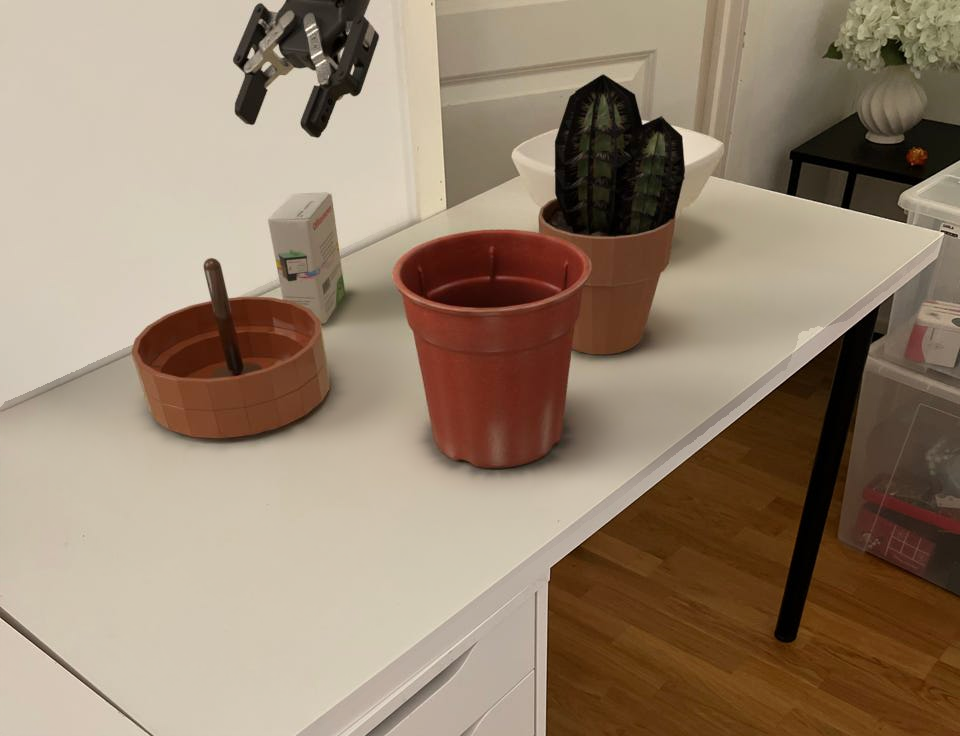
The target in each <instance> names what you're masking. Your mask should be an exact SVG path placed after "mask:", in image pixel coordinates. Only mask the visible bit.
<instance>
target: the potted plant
mask: <svg viewBox="0 0 960 736" xmlns="http://www.w3.org/2000/svg"><path fill="white" fill-rule="evenodd" d="M574 91H575V92H574V93H572V94H571V95H570V96H569V97H568V100H567V103H566V107H565V109H564V112H563V115H562V119H561V121H560V125H559V128H558V129H559V131H558V134H557V137H556V140H555V145H554V146H555V170H554V171H555V195H556V197H557V198H555V199H553V200H551V201H549V202H548V203H546V204H545V205H544V206H543V207H542V208H541V207H540V208H539V212H538V215H537V216H538V233H542V234H547V235H551V236H554V237H558V238H560V239H563V240H566V241H568V242H570V243H572V244H574V245H576V246H577V247H579V248H580V249H581V250H582V251H584V253H585V254H586V255H587V256H588V258H589V259H590V261H591V272H590V275H589V278H588V280H587V282H586V283H585V284H584V285H583V290H582V298H581V307H580V314H579V317H578V319H577V321H576V323H575V327H574V334H573V343H572V350H574V351H577V352H579V353H583V354H588V355H589V354H590V355H603V356H604V355H605V356H607V355H614V354H615V355H616V354H619V353H624V352H626V351H628V350H631V349H632V348H634V347H636V346H637V345H639V343H640V342H641V341H642V339H643V336H644V333H645V330H646V325H647V322H648V319H649V315H650V311H651V308H652V306H653V305H652V304H653V301H654V298H655V294H656V292H657V287H658V284H659V280H660V277H661V274H662V273H663V272H664V271H665V270H666V269H667V267H668V266H669V265H670V260H671V252H672V247H673V239H674V233H675V232H674V231H675V224H676V222H675V219H676V209H677V204H678V200H679V198H680V192H681V188H682V184H683V180H684V179H685V177H684V174H685V164H684V151H683V138H682V135H681V134H679V133H678V132H677V131H676V130H675V129H674V128H673V127H672V126H673V125H672V124H670V123H669V122H668V121H667V120H666V119H665V117H663V115H660V116H659V117H656V118H654V119H652V120H649V121H650V122H647V123H645V124H642V120H643V119H642V117H641V113H640V108H639V105H638V101H637V97H636V94H635V93H634V92H632V91H631V90H629V89H628V88H626V87H625V86H623V85H622V84H619V83H618V82H616V81H615V80H614V79H612V78H610V77H609V76H607V75H606V74H603V73H602V74H600V75H599V76H597V77H596V78H594V79H592V80H591V81H589V82H588V83H586V84H584V85H583V86H581V87H580V88H578V89H576V90H574ZM671 125H672V126H671Z"/></svg>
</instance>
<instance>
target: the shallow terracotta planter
mask: <svg viewBox="0 0 960 736" xmlns="http://www.w3.org/2000/svg"><path fill="white" fill-rule="evenodd" d="M228 299H229V304H230V308H231V312H232V317H233V321H234V326H235V330H236V335H237V339H238V343H239V348H240V352H241V357H242V361H243V362H250V363H255V364H257V365H259V366H261V367H262V370H258V371H254V372H250V373H246V374H242V375H239V376H231V377H221V378H212V379H211V376H212V374H213V372H214V371H216V370H217V369H218V368H220V367H222V366H225V365H227V364H226V360H225V356H224V352H223V347H222V343H221V339H220V335H219V331H218V326H217V322H216V318H215V314H214V310H213V305H212V301H211V300H209V301H204V302H199V303H195V304H192V305H188V306H186V307H183V308H180V309H178V310H175V311H172V312H170V313H168V314H167V313H166V314H165V315H163V316H161V317H160V318H159V319H157V320H155V321H154V322H152V323H150V324H149V325H147V326H146V327H145V328H144V329H143V330H142V331H141V332H140V333H139V334H138V336H136V337H135V339H134V341H133V344H132V349H131V352H130V353H131V357H132V360H133V364H134V367H135V370H136V374H137V376H138V379H139V383H140V386H141V389H142V393H143V396H144V400H145V402H146V406H147V409H148V410H149V413H150V414H151V416H152V419H153V420H154V421H155V422H157V423H158V424H160V425H161V426H162V427H164V428H165V429H166V430H168V431H170V432H174V433H179V434H182V435H186V436H188V437H189V436H190V437H195V438H210V439H228V438H234V437H235V438H236V437H237V438H238V437H244V436H253V435H257V434H260V433H264V432H268V431H271V430H275V429H279V428H281V427H283V426H286V425H288V424H291V423H292V422H294V421H296V420H299V419H301V418H303V417H305V416H306V415H308V414H309V413H310V412H311V411H313V409H315V408H316V407H317V406H319V405H320V404H321V403H322V402H323V401H324V399H325V397H326V396H327V394H328V392H329V390H330V388H331V384H330V383H331V380H330V371H329V365H328V364H329V363H328V358H327V352H326V345H325V340H324V334H323V327H322V323H321V321H320V319H319V318H318V317H317V316H316V315H315V314H314V313H313V312H312V310H310V309H308V308H306V307H304V306H302V305H300V304H298V303H295V302H292V301H287V300H283V298H282V299H281V298H277V297H271V296H266V297H265V296H238V297H228Z"/></svg>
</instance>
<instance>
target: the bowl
mask: <svg viewBox="0 0 960 736" xmlns="http://www.w3.org/2000/svg"><path fill="white" fill-rule="evenodd" d="M641 120H642V124H645V123H647V122H650V121H651V120H645V119H641ZM670 125H671V126H672V127H673V128H674V129H675V130H676V131H677V132H678V133H679V134H681V135H682V138H683V151H684V164H685V174H684V177H685V179H684V180H683V184H682V188H681V192H680V198H679V200H678V204H677V209H676V219H675V223H676V222H677V220H678V218H679V216H680V215H681V213H682V211H683V210H684V209H686V208H687V207H689V206H690V205H692V204H694V203H695V201H696V200H697V199H698V198H699V196H700V194H701V193H702V191H703V190H704V187H705V186H706V184H707V182H708V181H709V179H710V178H711V176H712V174H713V172H714V171H715V169H716V167H717V166H718V163H719V162H720V160H721V159H722V157H723V155H724V153H725V144H724V142H722V141H721V140H719V139H716V138H715V137H713V136H711V135H707V134H704V133H701V132H698V131H695V130H691V129H687V128H684V127H680V126H676V125H672V124H670ZM558 131H559V128H555V129H552V130H550V131H547V132H545V133H542V134H539V135H537V136H534V137H532V138H530V139H528V140H526V141H523V142H521V143H520V144H519V145H517V146H516V147H515V148H513V150H512V151H511V152H512V153H511V160H512V162H513V163H514V165H515V167H516V170H517V172H518V173H519V176H520V178H521V180H522V182H523V185H524V186H525V188H526V190H527V193H528V194H529V196H530V198H531V200H532V202H533V203H534V204H535V205H536V206H538V207H539V208H540V209H541V208H542V207H543V206H544V205H545V204H546V203H548V202H549V201H551V200H553V199H555V198H557V197H556V195H555V171H554V170H555V146H554V145H555V140H556V137H557V134H558Z"/></svg>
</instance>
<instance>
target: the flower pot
mask: <svg viewBox="0 0 960 736" xmlns="http://www.w3.org/2000/svg"><path fill="white" fill-rule="evenodd" d="M590 272H591V261H590V259H589V258H588V256H587V255H586V254H585V253H584V251H582V250H581V249H580V248H579V247H577V246H576V245H574V244H572V243H570V242H568V241H566V240H563V239H560V238H558V237H554V236H551V235H547V234H542V233H539V232H537V231H536V232H535V231H531V230H521V229H505V228H503V229H479V230H469V231H463V232H458V233H453V234H448V235H444V236H441V237H437V238H434V239H431V240H428V241H425V242H422V243H421V244H419V245H416V246H415V247H412V248H411V249H410V250H408V251H407V252H405V253H404V254H402V256H401V257H399V259H398V260H397V261H396V262H395V264H394V266H393V269H392V271H391V277H392V281H393V284H394V286H395V288H396V289H397V291H398V292H399V293H400V294H401V297H402V301H403V307H404V312H405V317H406V321H407V324H408V326H409V328H410V329H411V330H412V333H413V339H414V343H415V344H414V345H415V348H416V354H417V359H418V364H419V368H420V374H421V379H422V384H423V389H424V394H425V398H426V404H427V405H426V406H427V410H428V415H429V420H430V426H431V430H432V436H433V440H434V443H435V445H436V446H437V448H438V450H440V452H442V454H444V455H445V456H446V457H448V458H450V459H451V460H453V461H455V462H457V461H459V460H464V461H466V462H468V463H470V464H472V466H474V467H477V468H483V469H502V468H512V467H518V466H522V465H526V464H529V463H532V462H535V461H537V460H539V459H541V458H543V457H545V456H546V455H548V453H549V452H550V450H551V448H552V447H553V446H554V445H555V444H558V443H559V442H560V440H561V438H562V435H563V428H564V427H563V426H564V419H565V410H566V402H567V393H568V392H567V391H568V383H569V376H570V366H571V359H572V350H573V349H572V343H573V334H574V327H575V323H576V321H577V319H578V317H579V314H580V307H581V298H582V290H583V285H584V284H585V283H586V282H587V280H588V278H589V275H590Z"/></svg>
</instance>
